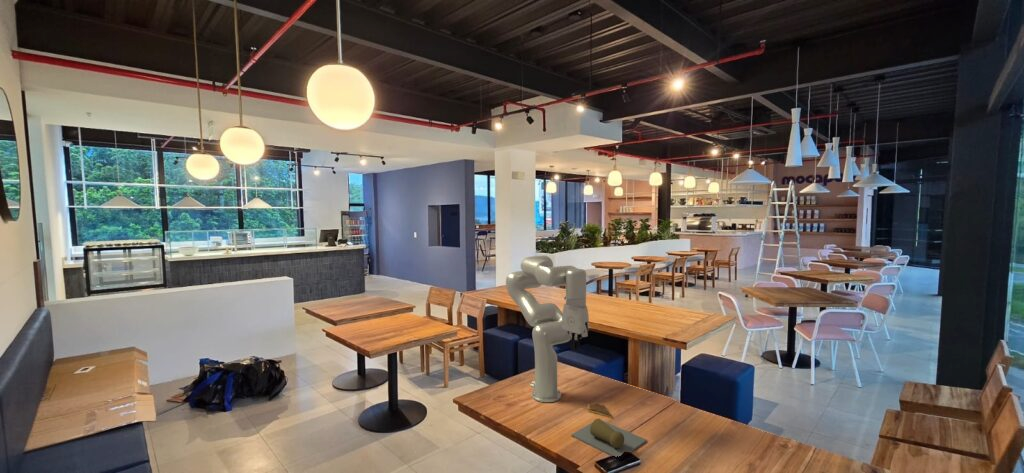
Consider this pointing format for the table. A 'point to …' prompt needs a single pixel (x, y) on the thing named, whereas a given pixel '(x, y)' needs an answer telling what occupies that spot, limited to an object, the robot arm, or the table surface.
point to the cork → (606, 433)
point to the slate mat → (628, 446)
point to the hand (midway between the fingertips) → (575, 349)
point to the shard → (599, 410)
